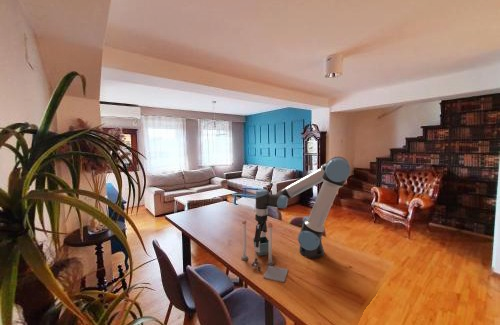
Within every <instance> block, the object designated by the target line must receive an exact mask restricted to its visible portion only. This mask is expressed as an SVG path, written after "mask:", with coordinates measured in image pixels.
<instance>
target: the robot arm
mask: <svg viewBox="0 0 500 325" xmlns="http://www.w3.org/2000/svg"><path fill="white" fill-rule="evenodd" d="M350 174H351V165H350V162H348V160H347V158H344V157H342V156H333V157H331V158H330V159H329V160H328V161H326V162H325V163H323V164H321V166H320V168H318V169H316V170H314V171H313V172H311V173H308V174H307V175H305V176H303V177H302V178H300V179H298V180H296V181H295V182H293V183H291V184H289V185H288V186H285V187H283V188H281V189H279V190H278V192H276V193H275V194H274V193H269V191H268V190H267V189H265V188H264V189H263V188H260V189H256V191H255V208H254V210H255V218H254V220H255V221H256V222H257V224H256V225H255V233H254V238H255V239H254V242H255V247H254V252H256V253H257V252H260V237H266V238H267V232H268V224H267V221H268V208H269V207H272V208H279V209H286V208H287V206H288V202H289V199H292V198H294V197H295V196H297V195H300V194H301V193H303V192H305V191H307V190H309V189H311V188H313V187H315V186H316V185H318V184H320V183H322V182H323V183H322V184H321V186H320V189H319V191H318V194H317V196H316V199H315V201H314V203H313V206H312V209H311V212H310V214H309V215H308V216H303V218H302V225H301V228H300V232H299V233H298V234H297V240H298V243H299V253H300V255H302V256H303V257H305V258H309V259H321V258H323V257H324V255H325V250H324V246H323V243H322V236H323V234H324V233H325V228H324V224H325V222H326V220H327V217H328V215H329V213H330V210H331V207H332V206H333V203H334V201H335V199H336V196H337V195H338V191H339V189H341V188H343V187H344V185H345V184H346V182H347V179H348V178H349V177H350ZM254 242H253V243H254Z"/></svg>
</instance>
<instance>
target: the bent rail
mask: <svg viewBox="0 0 500 325" xmlns="http://www.w3.org/2000/svg"><path fill="white" fill-rule="evenodd" d="M258 260H259V259H258V257H255V258H254V259H253V261H252V263H250V267H251V268H257V271H258V272H261V269H262V268H261V266H260V264H258V262H259V261H258Z"/></svg>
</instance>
